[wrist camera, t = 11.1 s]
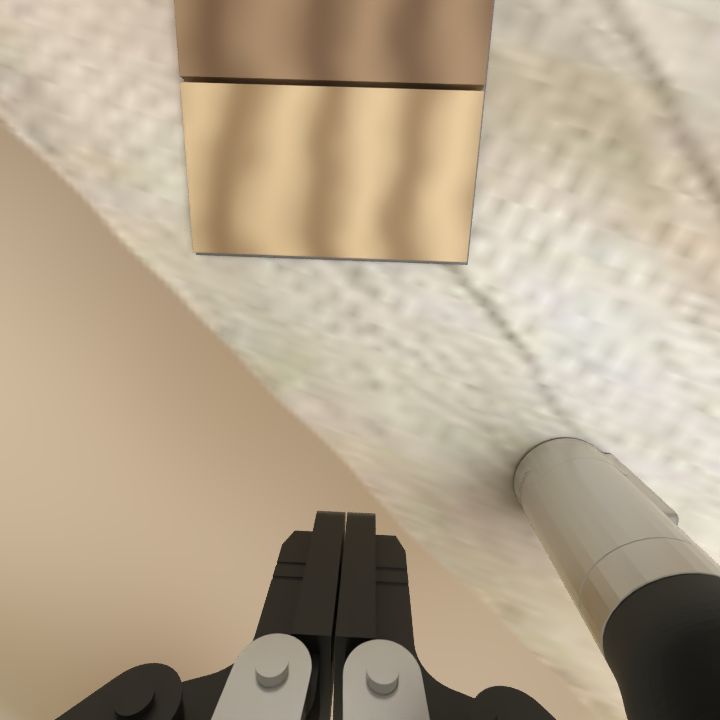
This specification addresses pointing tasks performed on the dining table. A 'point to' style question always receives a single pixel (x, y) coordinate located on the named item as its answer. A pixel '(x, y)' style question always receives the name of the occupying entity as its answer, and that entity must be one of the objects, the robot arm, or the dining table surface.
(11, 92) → the dining table surface
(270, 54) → the walnut plank
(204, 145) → the oak plank
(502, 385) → the dining table surface
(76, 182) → the dining table surface
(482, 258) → the dining table surface
